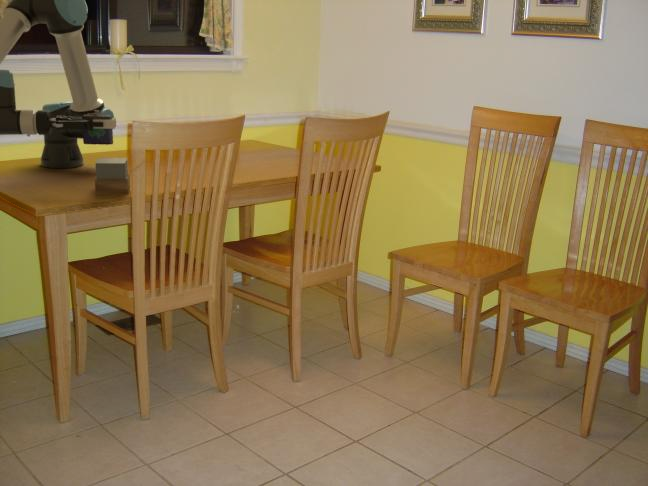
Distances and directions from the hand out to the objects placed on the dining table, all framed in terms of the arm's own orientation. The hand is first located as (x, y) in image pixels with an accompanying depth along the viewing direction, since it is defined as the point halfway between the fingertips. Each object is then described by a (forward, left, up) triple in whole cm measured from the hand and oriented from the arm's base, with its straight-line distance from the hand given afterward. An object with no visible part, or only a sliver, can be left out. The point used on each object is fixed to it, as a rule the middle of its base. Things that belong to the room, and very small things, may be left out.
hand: (115, 123), depth 238 cm
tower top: (-1, -2, -17) cm, 17 cm away
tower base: (-2, -2, -22) cm, 22 cm away
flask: (0, -5, -7) cm, 9 cm away
